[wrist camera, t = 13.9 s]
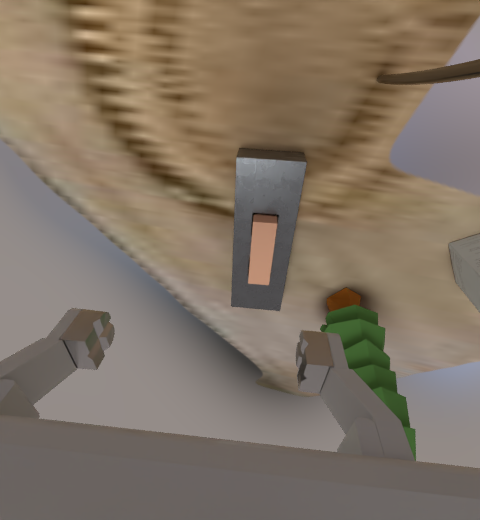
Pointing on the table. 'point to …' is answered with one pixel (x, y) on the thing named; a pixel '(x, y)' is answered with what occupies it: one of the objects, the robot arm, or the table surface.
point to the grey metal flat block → (267, 202)
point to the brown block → (262, 248)
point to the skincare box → (467, 266)
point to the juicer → (434, 75)
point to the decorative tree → (367, 352)
